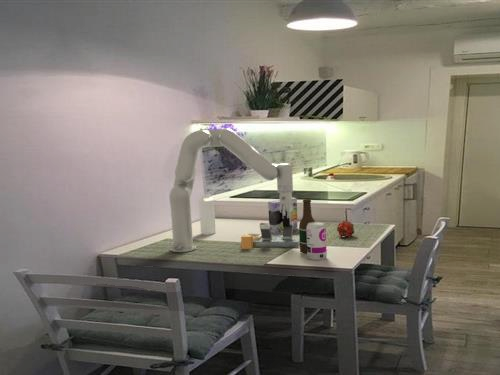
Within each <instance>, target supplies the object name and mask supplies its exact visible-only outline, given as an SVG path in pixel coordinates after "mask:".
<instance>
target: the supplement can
mask: <svg viewBox="0 0 500 375" xmlns="http://www.w3.org/2000/svg"><path fill="white" fill-rule="evenodd" d="M326 227H327V226H326V225H325V223H324V222H321V221H315V222H311V223H308V225H307V227H306V229H307V254H306V256H307V257H308V259H309V260H313V261H321V260H325V259H326V258H327V255H328V254H327V228H326Z"/></svg>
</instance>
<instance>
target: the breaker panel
mask: <svg viewBox="0 0 500 375" xmlns="http://www.w3.org/2000/svg"><path fill="white" fill-rule="evenodd" d="M245 235H253V247H258V248H259V247H261V248H263V247H264V248H299V247H300V239H299V235H292V239H282V237H283V234H282V235H276V234H273V233H271V235H272V236H271V237H272V239H262V235H261V233H246V234H245ZM240 246H241V247H242V244H241V243H240ZM298 246H299V247H298Z"/></svg>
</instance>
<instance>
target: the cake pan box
mask: <svg viewBox="0 0 500 375" xmlns="http://www.w3.org/2000/svg"><path fill="white" fill-rule="evenodd" d="M292 204H293V210H292V211H291V212H290V213H289V218H290V221H293V230H294V229H295V230H296V229H299V226H298V225H299V224H298V198H297V197H293V196H292ZM267 205H268V223H269V224H270V230H271V234H272V235H276V234H280V233H283V215H282V213H281V212H280V198H279V199H276V200H270V201H268V203H267Z"/></svg>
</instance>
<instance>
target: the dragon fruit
mask: <svg viewBox="0 0 500 375" xmlns="http://www.w3.org/2000/svg"><path fill="white" fill-rule="evenodd" d="M336 232H338V235H339V236H340V237H341V236H346V237H348V236H350V237H352V235H354V234H355V228H354V223H352V222H350V221H348V220H347V221H346V220H343V221H342V222H339V223H338V225H337V227H336Z"/></svg>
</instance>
